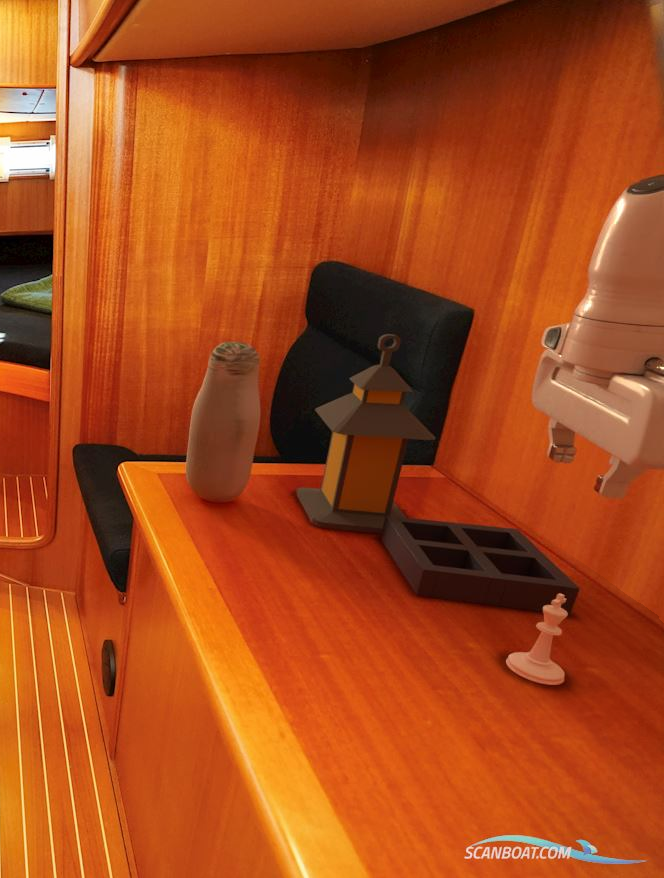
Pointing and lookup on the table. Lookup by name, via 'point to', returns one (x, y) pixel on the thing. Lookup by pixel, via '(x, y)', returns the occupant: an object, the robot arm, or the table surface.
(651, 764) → the table surface
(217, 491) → the beige bottle
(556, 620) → the chess piece
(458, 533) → the compartment tray
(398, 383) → the lantern
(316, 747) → the table surface
